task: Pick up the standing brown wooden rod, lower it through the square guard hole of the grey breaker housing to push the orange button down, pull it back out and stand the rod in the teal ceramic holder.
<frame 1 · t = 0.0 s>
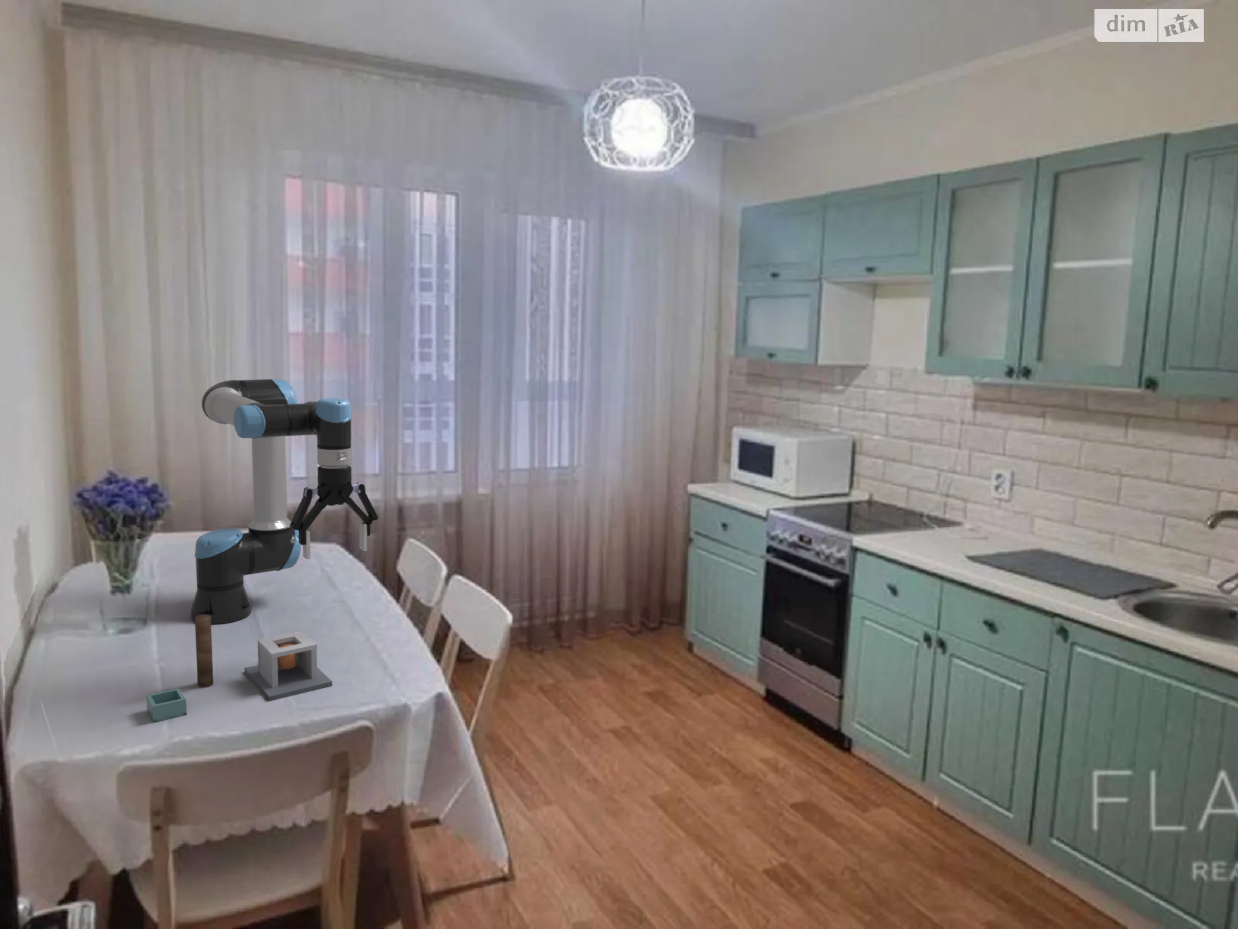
hand: (335, 553, 203), 28 cm above the table, fingers open, 13 cm apart
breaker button: (287, 656, 197), point 5 cm above the table, slide at 0.0 cm
brown wooden rod: (205, 684, 194), on the table
holder: (166, 712, 180), on the table
breaker housing: (287, 678, 198), on the table
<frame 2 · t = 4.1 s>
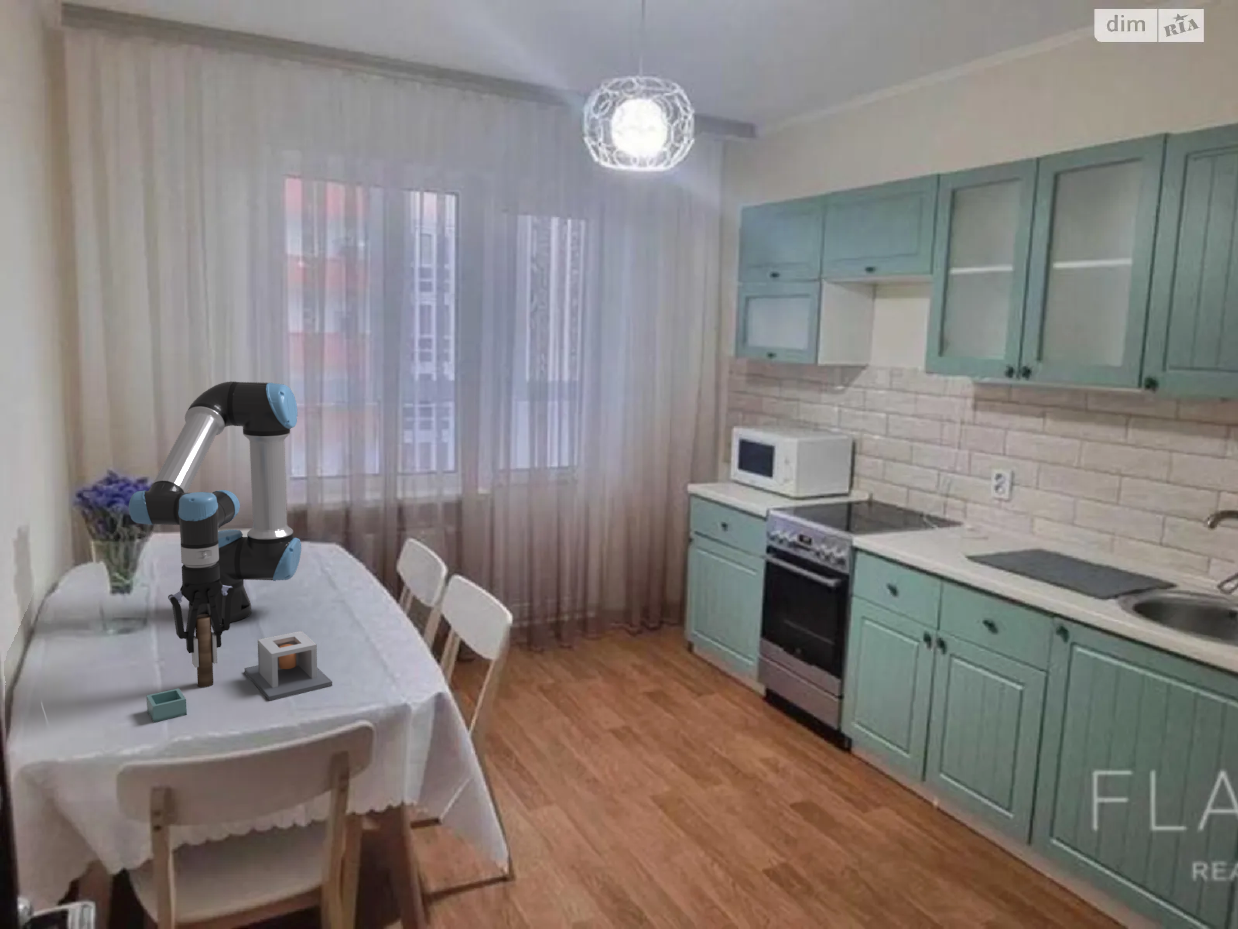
hand: (204, 663, 193), 5 cm above the table, fingers closed on brown wooden rod, 3 cm apart
brown wooden rod: (205, 684, 194), on the table, touching gripper
everything else where it was.
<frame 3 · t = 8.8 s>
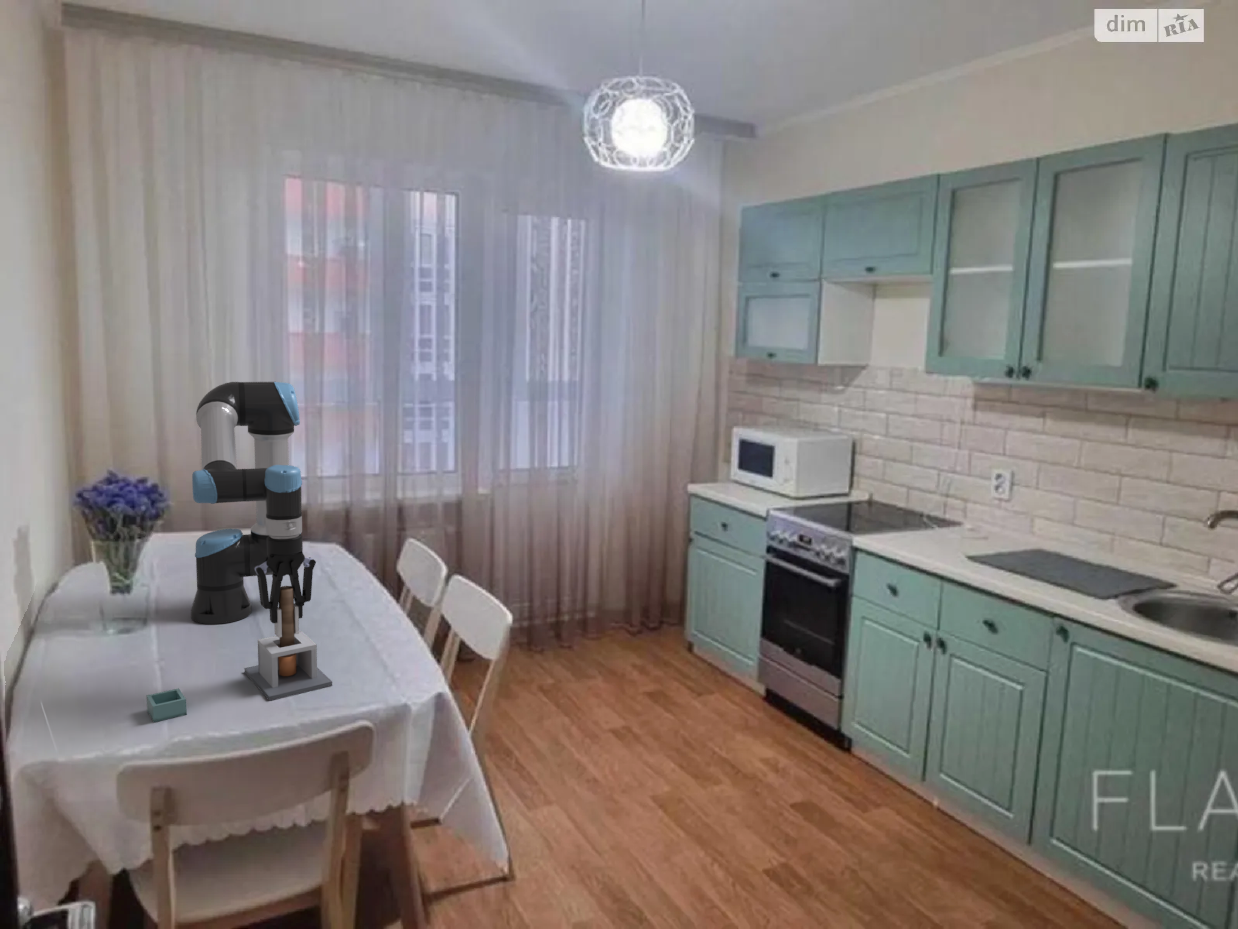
hand: (286, 633, 197), 11 cm above the table, fingers closed on brown wooden rod, 3 cm apart
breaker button: (287, 663, 198), point 4 cm above the table, slide at 1.7 cm, touching brown wooden rod
brown wooden rod: (287, 654, 197), point 6 cm above the table, touching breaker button, gripper
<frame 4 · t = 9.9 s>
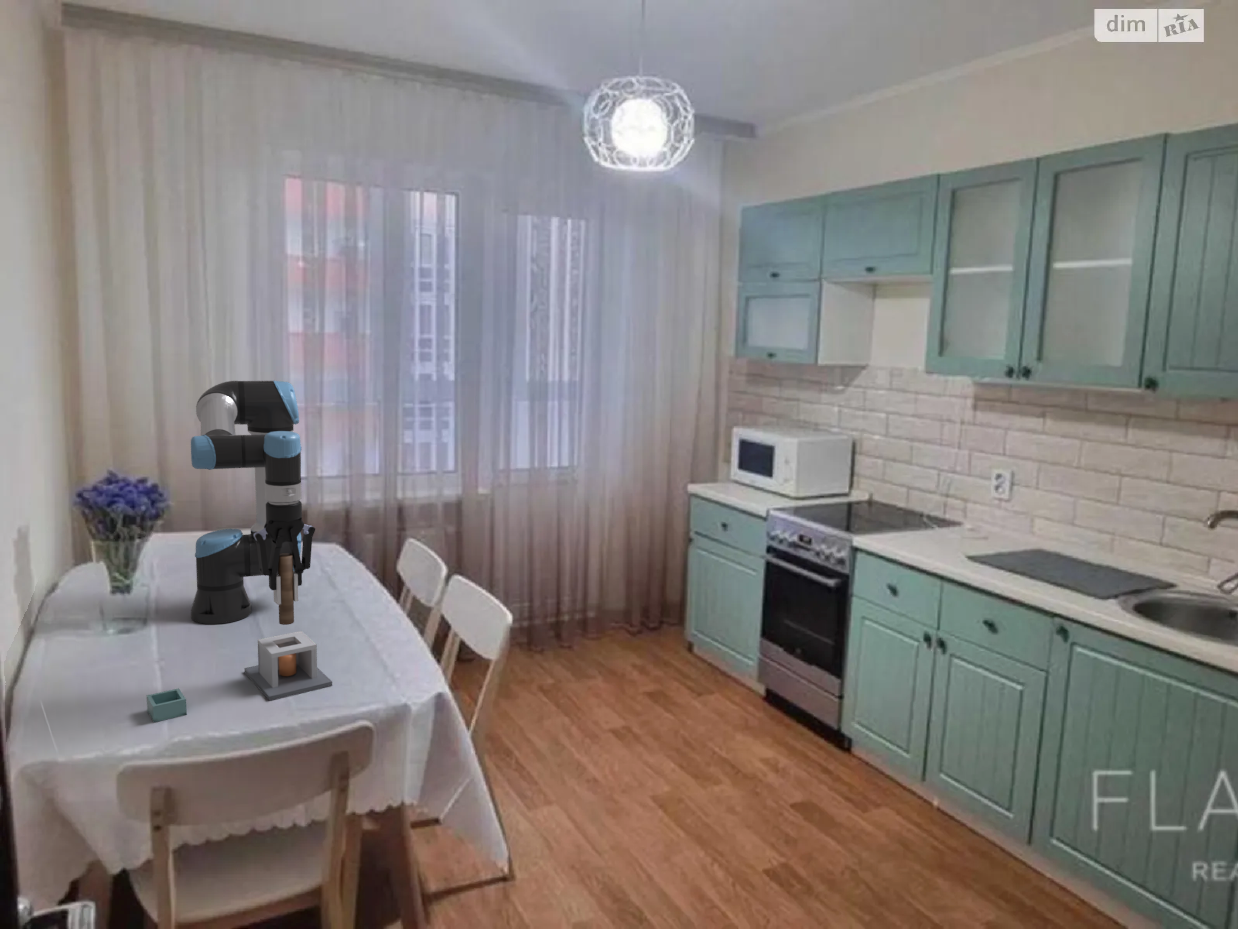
hand: (286, 600, 195), 19 cm above the table, fingers closed on brown wooden rod, 3 cm apart
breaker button: (287, 663, 198), point 4 cm above the table, slide at 1.7 cm
brown wooden rod: (286, 622, 196), point 14 cm above the table, touching gripper
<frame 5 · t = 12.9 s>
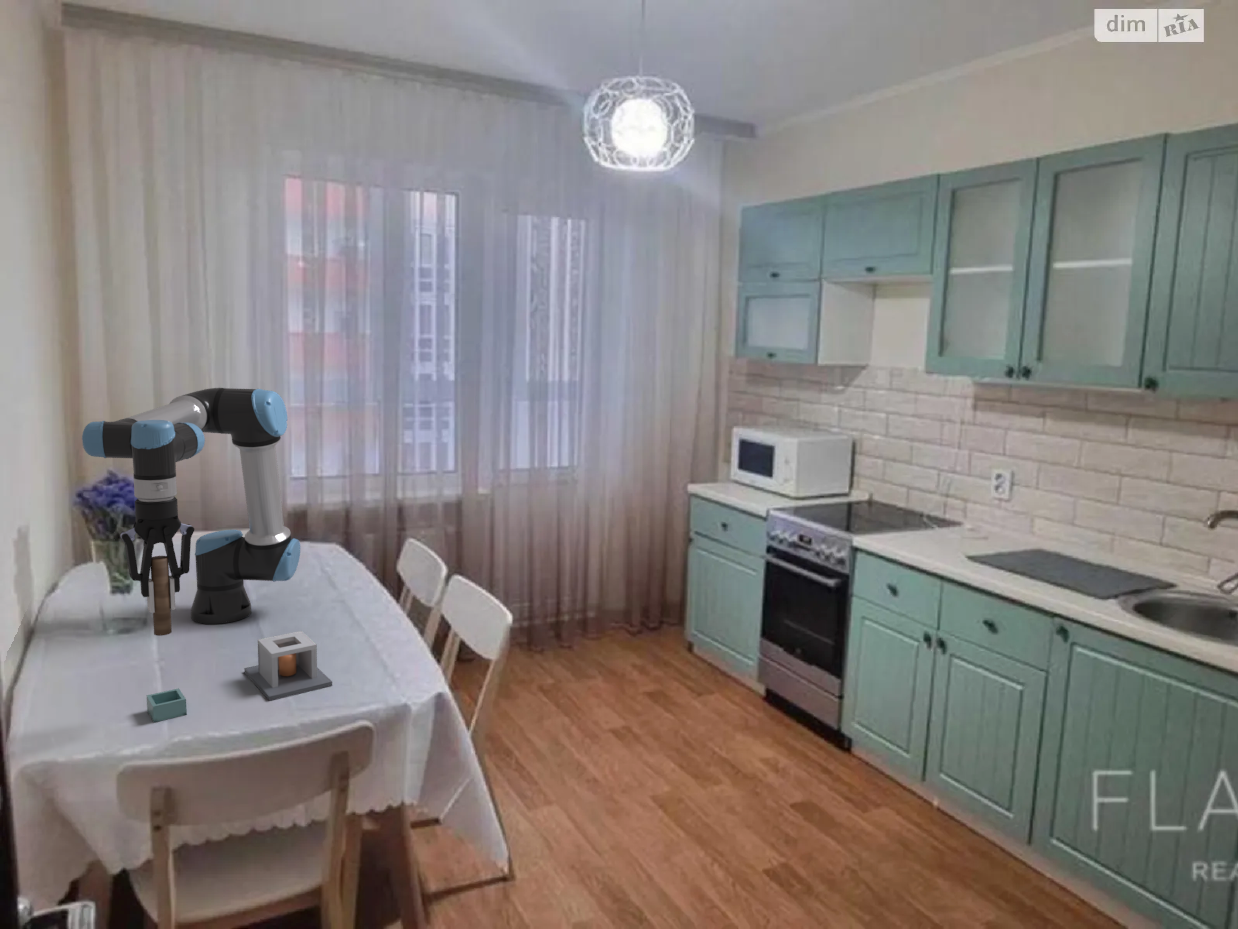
hand: (161, 609, 176), 23 cm above the table, fingers closed on brown wooden rod, 3 cm apart
brown wooden rod: (162, 632, 176), point 18 cm above the table, touching gripper
everything else where it was.
when the fingers open (7 cm above the table, at t = 15.9 s): brown wooden rod stays where it is, resting on holder.
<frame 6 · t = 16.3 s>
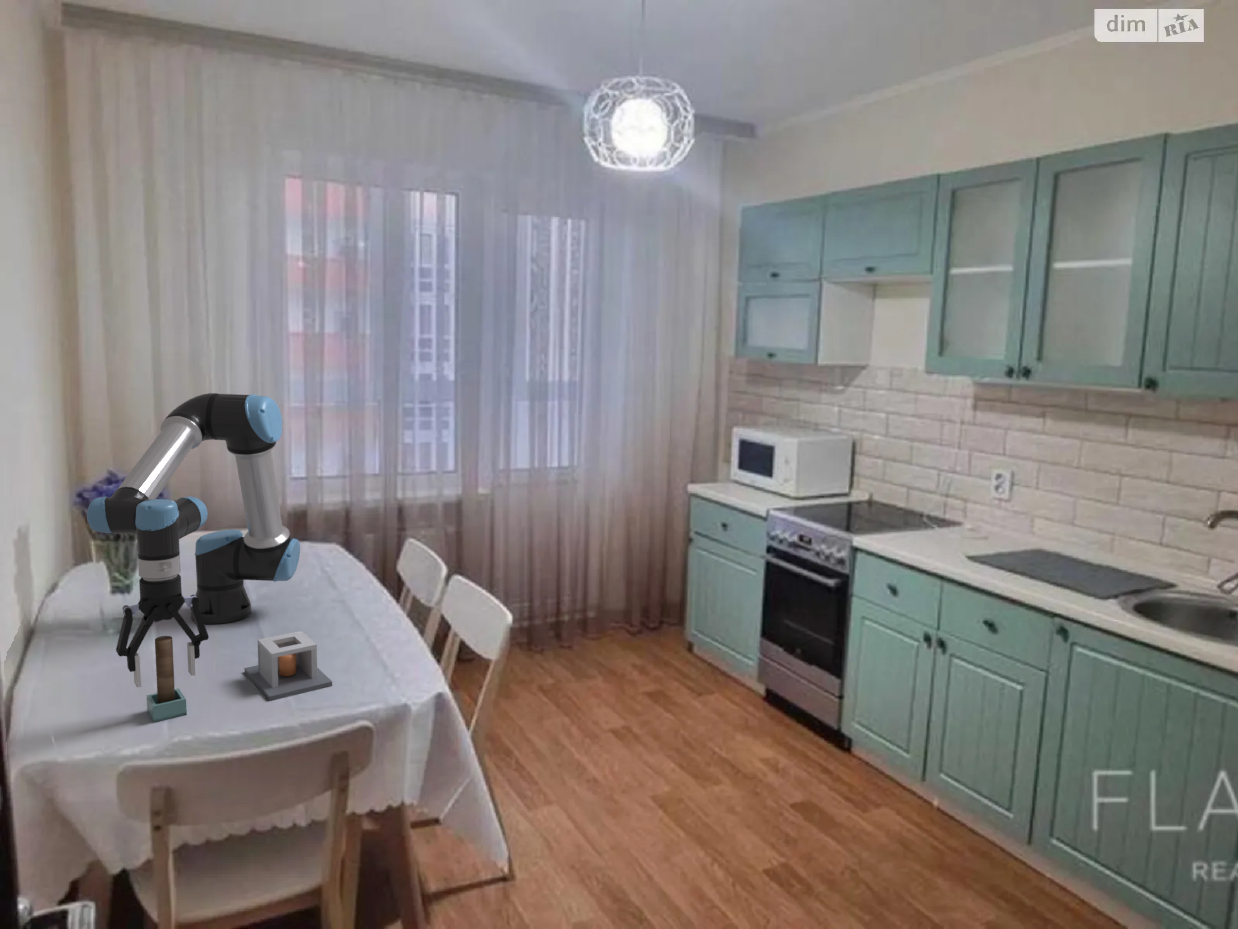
hand: (165, 679, 178), 8 cm above the table, fingers open, 9 cm apart
brown wooden rod: (166, 710, 180), point 1 cm above the table, touching holder
everything else where it was.
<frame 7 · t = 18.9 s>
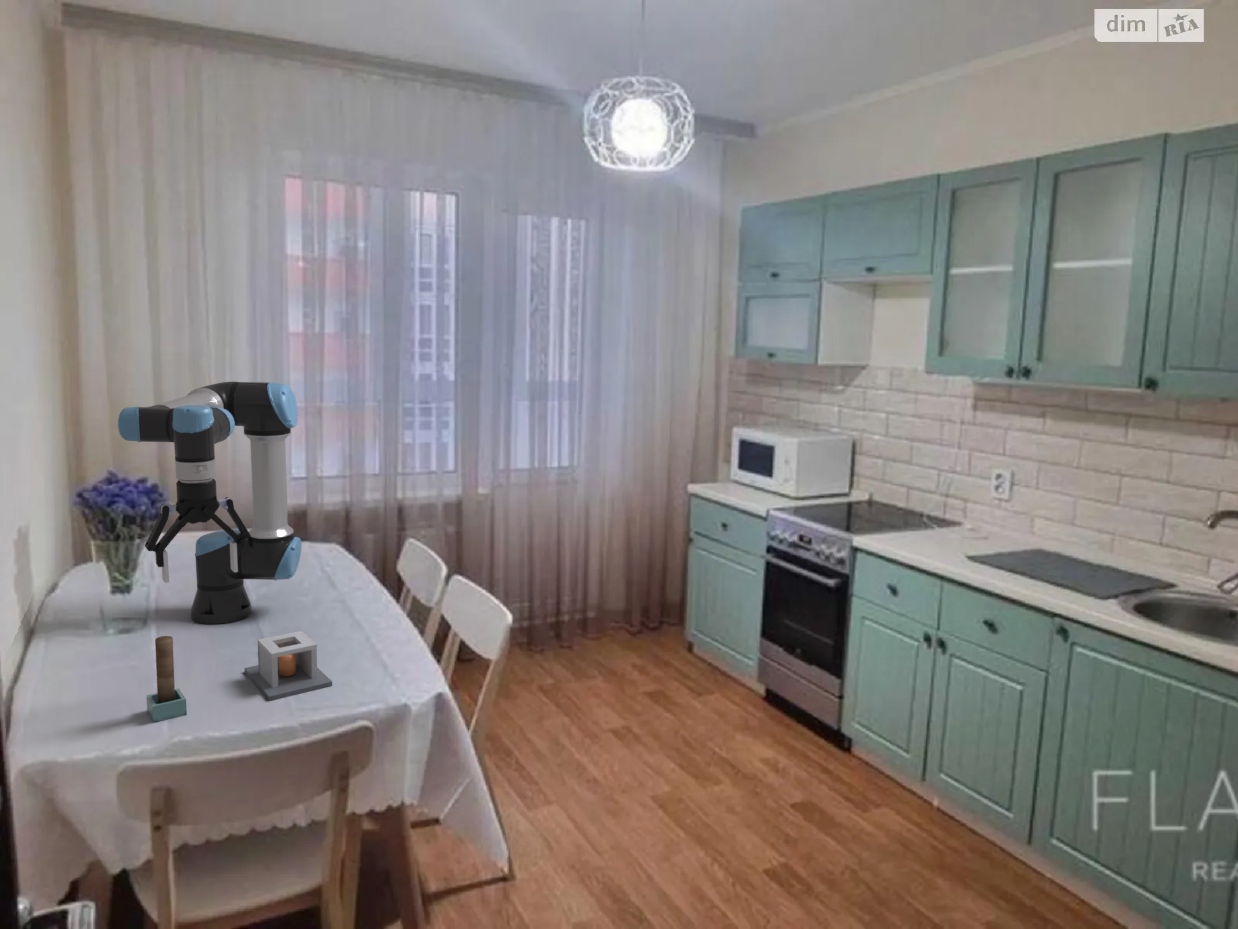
hand: (200, 575, 184), 27 cm above the table, fingers open, 13 cm apart
nothing on the table moved.
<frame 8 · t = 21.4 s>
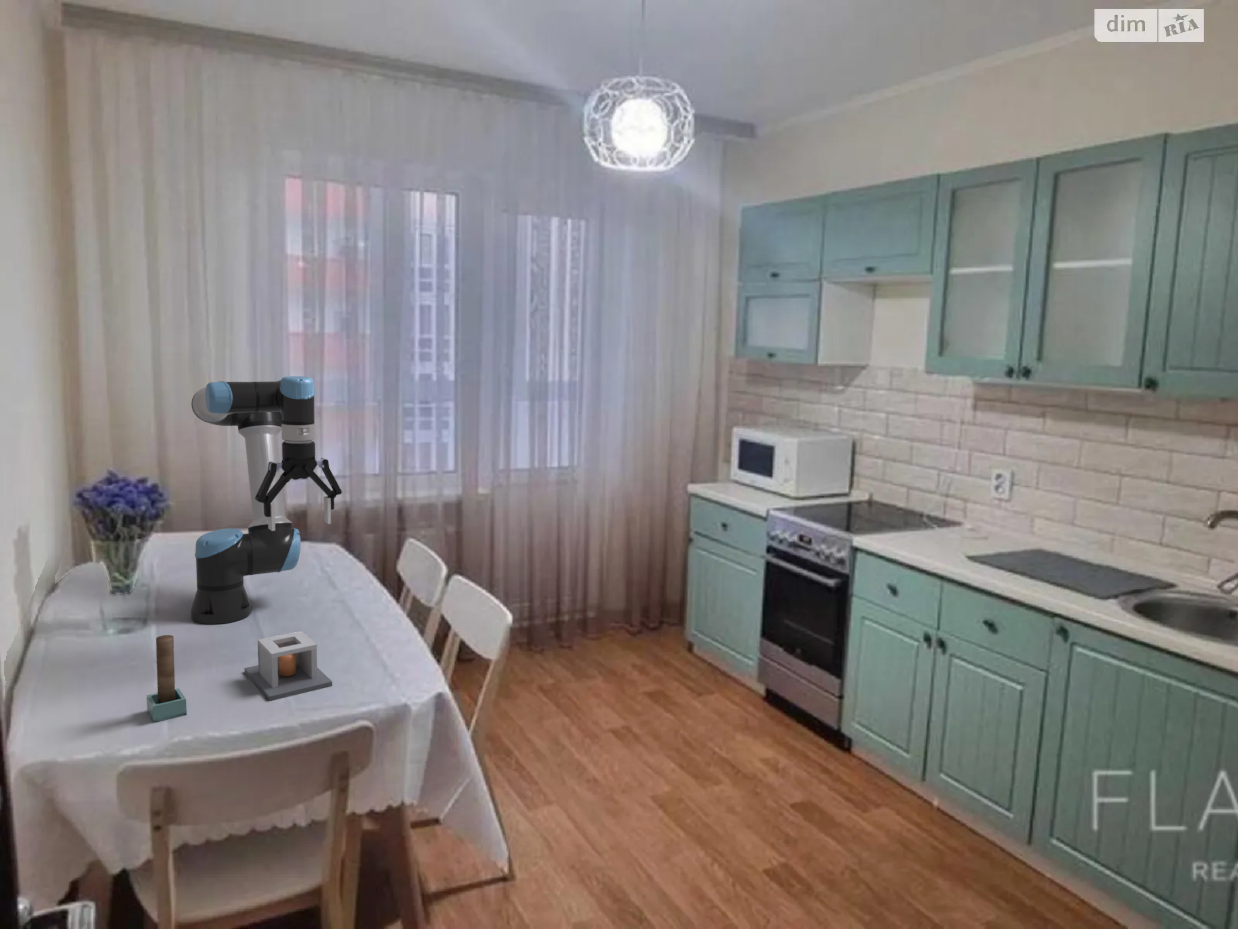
hand: (300, 526, 211), 32 cm above the table, fingers open, 13 cm apart
nothing on the table moved.
at the end: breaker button slide at 1.7 cm; brown wooden rod 0.1 cm off-centre on the holder, point 0.5 cm above the holder's base; brown wooden rod tilted 1° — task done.
